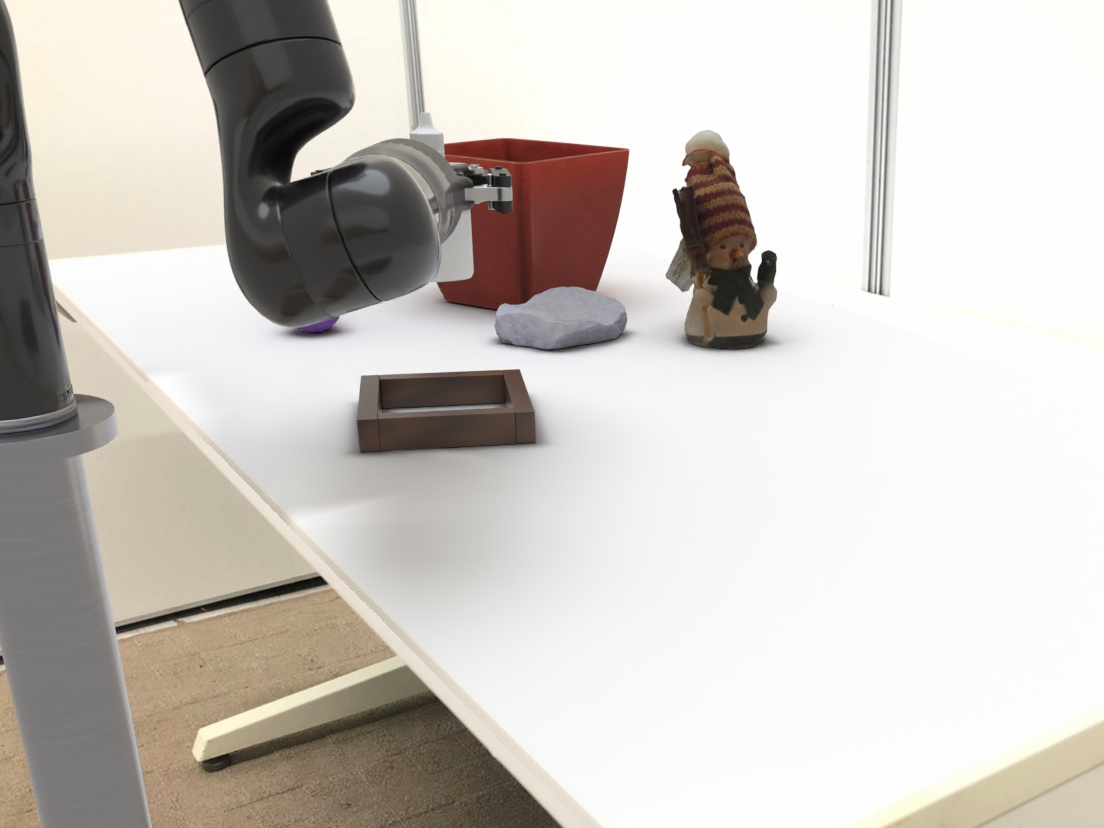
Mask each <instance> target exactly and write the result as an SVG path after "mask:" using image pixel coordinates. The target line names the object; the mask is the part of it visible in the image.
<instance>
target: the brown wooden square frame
mask: <svg viewBox="0 0 1104 828" xmlns="http://www.w3.org/2000/svg"><path fill="white" fill-rule="evenodd" d="M359 383H360V384H359V392H358V402H357V403H358V404H357V412H356V428H357V429H356V430H357V439H358V447H359V449H358V450H359V452H360V453H369V452H370V453H371V452H380V451H381V452H388V451H389V452H391V451H408V450H425V449H426V450H427V449H445V448H463V447H481V446H483V447H484V446H499V445H517V444H533V443H534V444H536V443H537V433H536V431H537V429H536V412H535V411H536V410H535V409H534V406H533V403H532V399H531V397H530V393H529V392H528V389H527V385H526V383H525V380H524V377H523V374H522V372H521V369H520V368H514V369H513V368H512V369H511V368H510V369H487V370H469V371H468V370H464V371H462V370H461V371H439V372H417V373H415V372H414V373H413V372H412V373H391V374H390V373H389V374H387V373H386V374H367V375H361V376H360V381H359ZM486 404H487V405H488V404H505V407H484V408H465V409H444V410H443V409H441V410H424V411H423V410H421V411H420V410H419V411H402V412H383V409H400V408H401V409H402V408H403V409H405V408H423V407H444V406H445V407H447V406H466V405H467V406H468V405H486Z"/></svg>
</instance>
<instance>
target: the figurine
mask: <svg viewBox="0 0 1104 828" xmlns="http://www.w3.org/2000/svg"><path fill="white" fill-rule="evenodd" d="M684 146H685V148H684V150H685V157H684V158H683V160H682V163H681V167H686V166H688V167H690V168H689V169H688V171H687V173H686V177H685V178H684V180H683V181H684V182H685V185H684V186H681V188H680V189H678V188H677V187H675V188H673V189H672V191H671V192H672V196H673V201H674V203H675V209H676V214H677V217H678V219H679V229H680V233H681V235H682V237H681V240H680V241H679V244H678V248H677V250H676V252H675V254H674V256H673V257H672V260H671V263H670V264H669V267H668V269H667V271H666V273H665V279H666V280H669V282H671V283H672V284H673V285H674V286H676V287H677V288H678V289H679V291H681V293H685V292H689V291H690V288H692V286H693V288H692V289H693V290H692V298H691V301H690V303H689V307H688V309H687V312H686V316H685V322H684V334H685V336H686V338H687V340H688V342H689V343H690V344H692V345H696V346H700V347H706V348H713V349H714V348H715V349H717V348H718V349H727V350H739V349H748V348H751V347H755V346H756V345H758V344H761V342H763V340H764V338H765V336H766V334H767V333H768V322H769V320H768V318H769V312H770V309H771V307H773V306H774V304H775V303H776V302H777V299H778V298H777V297H778V289H777V288H776V286H775V285H774V284H775V278H776V276H777V275H776V274H777V261H778V256H777V253H776V252H774V251H773V250H770V249H767V250H764V251H763V252H761V254H760V255H761V259H760V260H761V262H760V263H759V265H758V268H757V273H756V282H754V279H753V277H752V275H751V273H752V269H753V265H752V264H751V263H750V260H749V255H750V254H751V253H752V252H753V251H754V250H755V249H756V246H758V239H757V233H756V231H755V227H754V224H753V220H752V216H751V213H750V210H749V207H748V203H747V199H746V196H745V195H744V194H743V193H742V191H741V189H740V185H739V183H738V181H737V174H736V171H735V167H734V166H733V165H732V164H731V163H730V162H731V161H730V156H731V153H730V150H729V147H728V146H727V144H726V142H725V141H724V140H723V138H722V136H721V135H720V134H719V133H718V132H715V131H713V130H712V129H711V130H710V129H705V130H700V131H698V132H697V133H696V134H694V135H693V136H692V137H690V138H689V140H688V141H687V142H686V143H685V145H684Z"/></svg>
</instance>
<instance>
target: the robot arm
mask: <svg viewBox="0 0 1104 828" xmlns="http://www.w3.org/2000/svg"><path fill="white" fill-rule="evenodd" d="M177 1H178V5H179V7H180V10H181V13H182V17H183V20H184V23H185V26H186V28H187V31H188V34H189V37H190V39H191V42H192V46H193V49H194V51H195V54H196V57H197V60H198V63H199V66H200V68H201V72H202V74H203V77H204V80H205V84H206V86H207V89H208V92H209V95H210V99H211V103H212V107H213V110H214V111H213V112H214V116H215V122H216V128H217V137H218V139H217V140H218V147H219V154H220V155H219V157H220V164H221V177H222V199H223V202H222V203H223V223H224V224H223V225H224V236H225V245H226V252H227V258H228V263H229V266H230V269H231V273H232V275H233V278H234V280H235V282H236V285H237V287H238V288H239V290H240V293H241V294H242V295H243V297H244V298H245V300H246V301H247V302H248V303H249V305H250V307H252V308H253V309H254V310H255V311H256V312H257V313H259V315H261V316H262V317H263V318H265V319H266V320H268V321H269V322H271V323H273V324H275V325H277V326H279V327H283V328H290V329H297V328H298V327H304V326H309V325H312V324H316V323H319V322H322V321H325V320H328V319H331V318H335V317H337V316H340V317H341V316H343V315H347V314H350V313H353V312H356V311H357V312H358V311H360V310H362V309H366V308H369V307H372V306H375V305H376V306H377V305H379V304H382V303H385V302H389V301H391V300H395V299H399V298H402V297H404V296H408V295H410V294H412V293H415V292H417V291H419V290H420V289H422V288H423V287H425V286H428V285H429V284H430V283H432V282H431V281H432V280H433V279H434V278H435V277H436V275H437V273H438V270H439V267H440V263H441V245H442V244H443V243H444V242H445V241H446V240H447V239H448V238H449V237H450V235H451V234H452V233H453V231H454V230H455V228H456V226H457V224H458V222H459V219H460V217H461V214H462V213H467V212H469V211H470V209H471V208H472V207H473V206H474V204H480V203H481V202H485V201H488V209H489V210H495V211H496V212H501V214H508V212H513V201H512V200H513V199H512V176H511V174H510V173H509V171H508V170H507V169H506V168H502V167H501V166H495V168H490V174H488V170H483V167H480V164H469V165H467V164H466V163H455V162H448V161H447V160H446V159H445V158H444V157H443V156H442V155H441V154H440V153H439V152H437V151H436V150H435V149H433V148H432V147H430V146H428V145H426V144H424V143H422V142H419V141H416V140H412V139H410V138H403V137H399V138H397V137H396V138H389V139H385V140H382V141H379V142H377V143H373V144H371V145H369V146H367V147H364V148H361V149H360V150H357V151H355V152H354V153H352V154H350V155H349V156H347V157H346V158H345V159H344V160H342V161H341V162H339V163H337V164H336V165H334V166H332V167H328V168H324V169H315V170H314V171H311V172H310V175H309V176H306V177H303V178H300V179H297V180H294V181H292V173H293V168H294V164H295V160H296V158H297V156H298V154H299V152H300V151H301V150H302V149H303V148H304V147H305V146H306V145H307V144H308V143H309V142H311V141H312V140H314V139H315V138H316V137H318V136H320V135H322V133H324V132H325V131H327V130H329V129H331V128H332V127H333V126H335V125H337V124H338V123H339V122H341V121H342V120H343V119H344V118H345V117H347V115H348V114H349V113H350V112H351V111H352V109H353V108H354V105H355V102H356V97H357V93H356V86H355V82H354V77H353V73H352V69H351V67H350V63H349V60H348V58H347V55H346V52H345V49H344V45H343V43H342V39H341V36H340V33H339V31H338V27H337V25H336V21H335V18H334V16H333V12H332V10H331V6H330V4H329V0H177ZM18 51H19V50H18V45H17V39H16V33H15V30H14V26H13V21H12V17H11V14H10V11H9V9H8V6H7V4H6V1H5V0H0V434H4V433H14V432H22V431H29V430H34V429H39V428H44V427H48V426H52V425H55V424H58V423H61V422H64V421H66V420H68V419H70V418H72V417H73V416H75V415H76V413H77V411H78V410H77V405H76V399H75V397H74V396H73V394H74V387H73V384H72V380H71V376H70V375H71V374H70V370H69V364H68V359H67V353H66V347H65V343H64V337H63V331H62V326H61V323H60V316H59V311H58V306H57V300H56V294H55V290H54V284H53V279H52V273H51V269H50V263H49V258H48V253H47V247H46V242H45V241H46V240H45V237H44V231H43V225H42V221H41V220H42V219H41V215H40V210H39V204H38V199H37V197H36V196H37V194H36V189H35V183H34V174H33V173H34V171H33V153H32V144H31V140H30V139H31V138H30V133H29V127H28V120H27V114H26V107H25V100H24V99H25V98H24V91H23V90H24V89H23V84H22V83H23V82H22V74H21V65H20V58H19V52H18Z"/></svg>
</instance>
